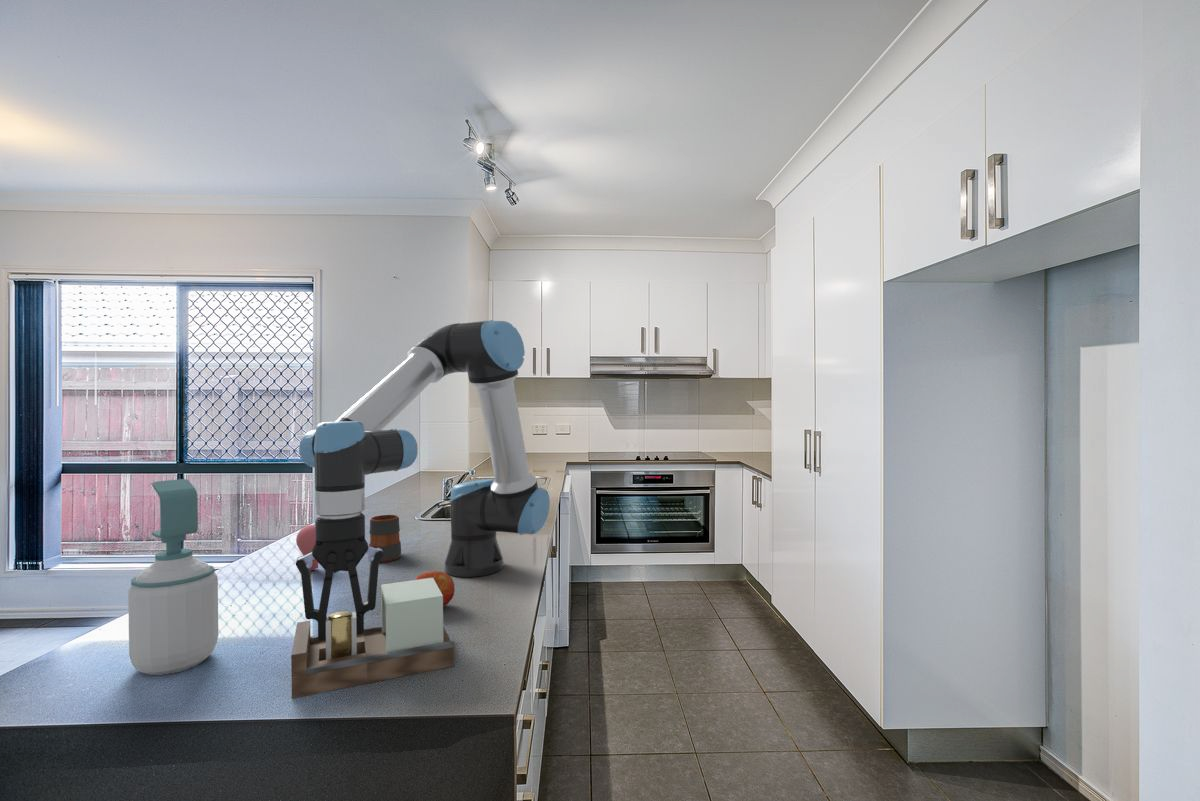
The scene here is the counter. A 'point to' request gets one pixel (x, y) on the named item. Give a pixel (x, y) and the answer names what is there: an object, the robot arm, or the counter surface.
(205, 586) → the soap bottle
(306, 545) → the light bulb
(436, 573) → the apple
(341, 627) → the brass peg
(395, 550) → the mug
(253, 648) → the counter surface
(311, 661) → the housing base
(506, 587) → the counter surface
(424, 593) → the cover
